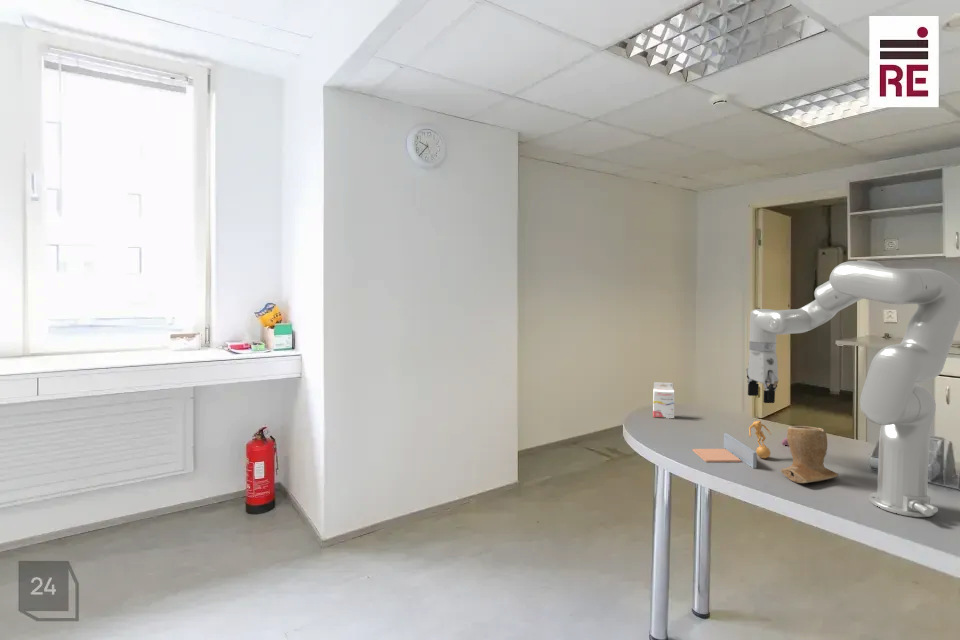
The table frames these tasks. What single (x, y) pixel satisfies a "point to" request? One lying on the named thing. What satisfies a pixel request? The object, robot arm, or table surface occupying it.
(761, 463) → the table surface
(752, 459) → the low wall
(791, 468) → the stone cup
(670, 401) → the ink cartridge box
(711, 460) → the board
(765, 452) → the figurine
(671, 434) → the table surface
